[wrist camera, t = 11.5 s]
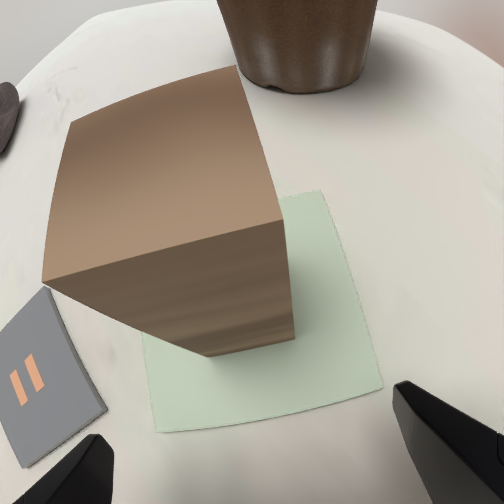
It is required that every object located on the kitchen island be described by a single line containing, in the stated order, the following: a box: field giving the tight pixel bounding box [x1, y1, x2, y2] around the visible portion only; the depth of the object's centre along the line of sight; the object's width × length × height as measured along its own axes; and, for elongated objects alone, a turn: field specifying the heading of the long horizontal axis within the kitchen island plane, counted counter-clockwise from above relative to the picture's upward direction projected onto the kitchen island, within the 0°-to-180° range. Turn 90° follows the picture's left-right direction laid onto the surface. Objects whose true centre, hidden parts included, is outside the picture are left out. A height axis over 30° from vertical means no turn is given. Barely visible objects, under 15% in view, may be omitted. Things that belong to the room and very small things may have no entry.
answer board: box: [141, 190, 383, 433], centre depth 17 cm, size 12×12×1 cm
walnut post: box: [42, 65, 295, 358], centre depth 11 cm, size 5×5×12 cm
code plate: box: [0, 286, 108, 469], centre depth 17 cm, size 10×10×1 cm
